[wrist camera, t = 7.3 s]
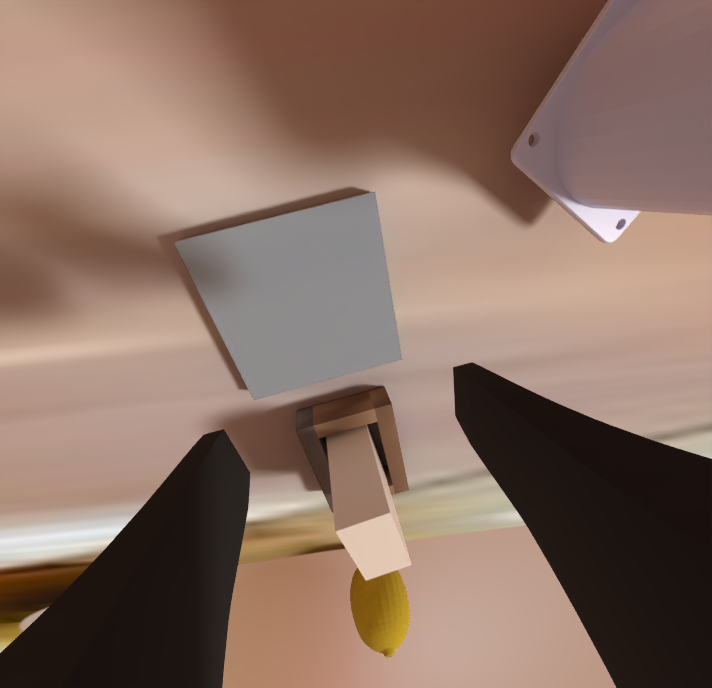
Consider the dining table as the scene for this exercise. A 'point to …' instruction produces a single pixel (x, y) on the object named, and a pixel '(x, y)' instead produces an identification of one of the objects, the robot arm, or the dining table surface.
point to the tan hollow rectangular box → (345, 417)
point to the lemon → (380, 611)
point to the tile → (299, 294)
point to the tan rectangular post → (364, 504)
